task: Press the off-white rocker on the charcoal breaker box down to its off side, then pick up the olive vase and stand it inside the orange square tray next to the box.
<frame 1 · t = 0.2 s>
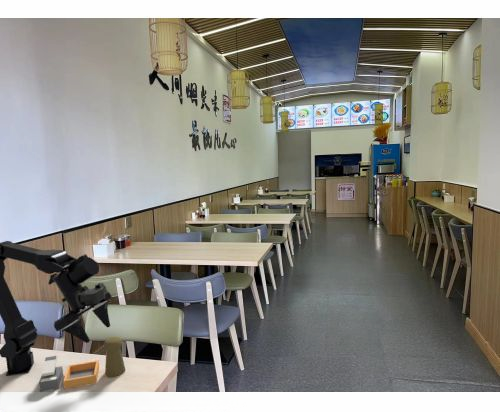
hand: (99, 334, 114), 14 cm above the table, tool tilted 30°, fingers open, 9 cm apart
breaker rocker: (49, 365, 114), point 6 cm above the table, hinge at 20.0°
olive vase: (115, 372, 120), on the table
breaker box: (51, 383, 115), on the table
orange square tray: (82, 377, 117), on the table
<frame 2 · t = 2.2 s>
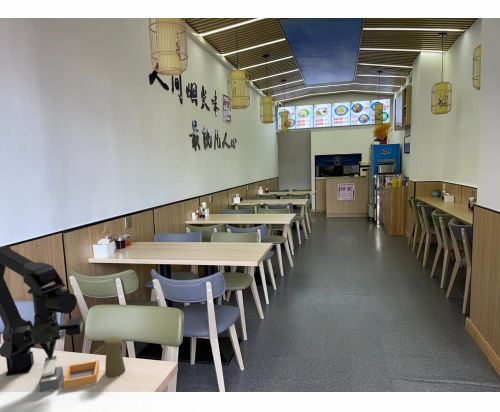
hand: (50, 357, 115), 7 cm above the table, tool pointing down, fingers closed, pressing on breaker rocker
breaker rocker: (49, 365, 114), point 6 cm above the table, hinge at 20.0°, touching gripper
everything else where it was.
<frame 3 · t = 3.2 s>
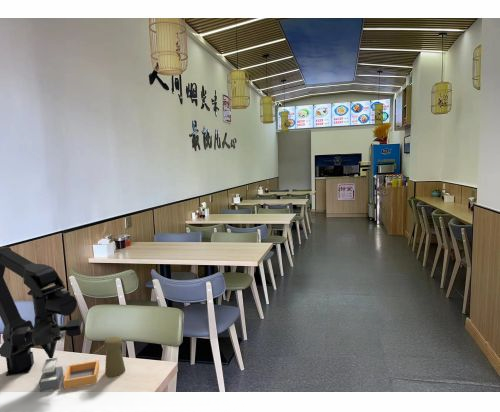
hand: (51, 357, 116), 7 cm above the table, tool pointing down, fingers closed
breaker rocker: (49, 365, 114), point 6 cm above the table, hinge at -0.2°
everything else where it was.
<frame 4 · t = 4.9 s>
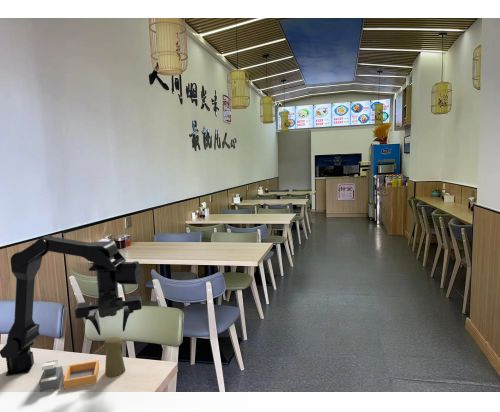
hand: (111, 332, 118), 13 cm above the table, tool pointing down, fingers open, 7 cm apart
breaker rocker: (50, 364, 114), point 6 cm above the table, hinge at -16.9°
everything else where it was.
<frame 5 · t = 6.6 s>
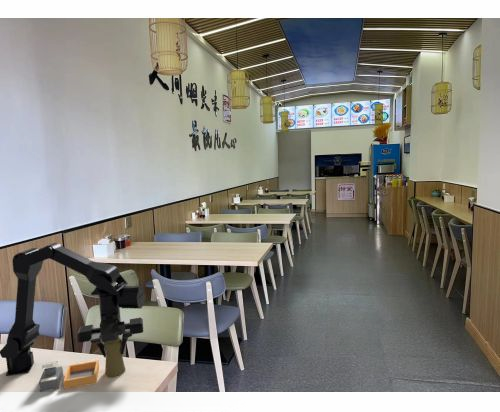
hand: (113, 355, 119), 6 cm above the table, tool pointing down, fingers closed on olive vase, 5 cm apart
breaker rocker: (50, 364, 114), point 6 cm above the table, hinge at -24.8°
olive vase: (115, 372, 119), on the table, touching gripper
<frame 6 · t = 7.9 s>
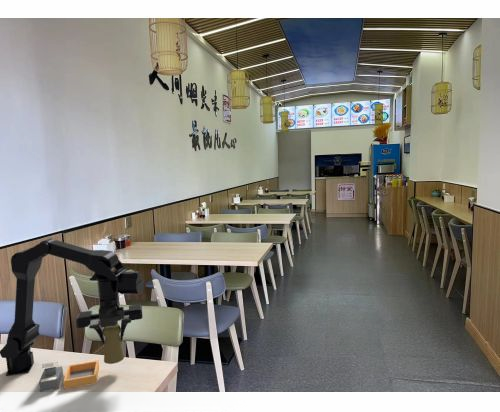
hand: (112, 341, 118), 10 cm above the table, tool pointing down, fingers closed on olive vase, 5 cm apart
breaker rocker: (50, 364, 114), point 6 cm above the table, hinge at -27.8°
olive vase: (114, 359, 119), point 4 cm above the table, touching gripper
when the fingers open (7 cm above the table, at t = 10.9 s): olive vase drops 1 cm, resting on orange square tray.
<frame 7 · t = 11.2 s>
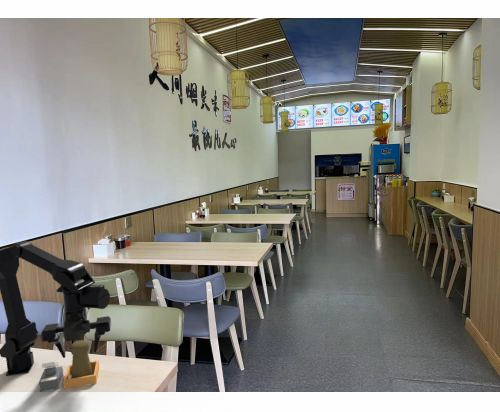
hand: (80, 354, 116), 7 cm above the table, tool pointing down, fingers open, 8 cm apart
breaker rocker: (50, 364, 114), point 6 cm above the table, hinge at -30.8°
olive vase: (82, 376, 117), resting on orange square tray
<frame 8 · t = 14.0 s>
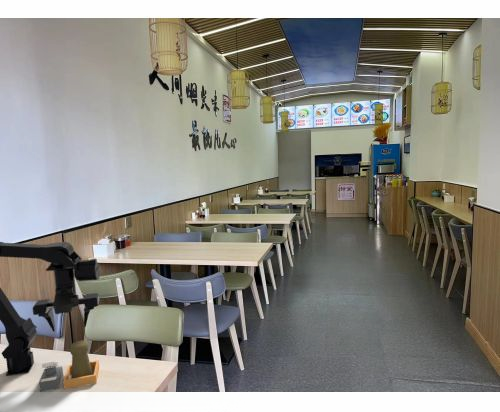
hand: (69, 328, 124), 12 cm above the table, tool pointing down, fingers open, 9 cm apart
breaker rocker: (50, 364, 114), point 6 cm above the table, hinge at -31.4°
everything else where it was.
at the end: breaker rocker at -32° (first picture: +20°); olive vase 0.1 cm off-centre on the orange square tray, point 0.2 cm above the orange square tray's base; olive vase tilted 0° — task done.
